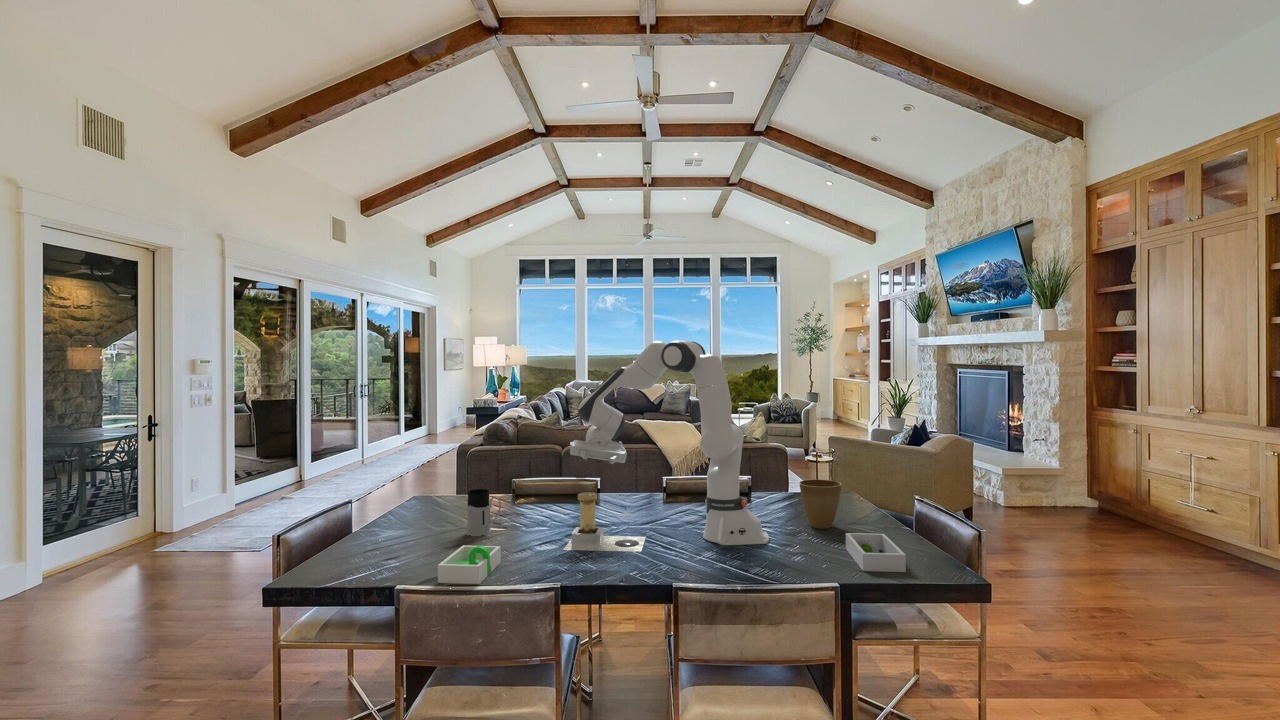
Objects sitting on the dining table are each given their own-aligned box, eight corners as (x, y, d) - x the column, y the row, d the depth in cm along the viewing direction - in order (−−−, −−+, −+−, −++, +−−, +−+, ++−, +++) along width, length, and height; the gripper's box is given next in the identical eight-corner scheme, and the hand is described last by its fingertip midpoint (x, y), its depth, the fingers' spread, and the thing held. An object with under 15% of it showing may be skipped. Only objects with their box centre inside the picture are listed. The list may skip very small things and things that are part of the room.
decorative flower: (885, 545, 178) (856, 531, 192) (872, 561, 177) (843, 546, 191) (902, 563, 179) (872, 548, 193) (888, 579, 178) (859, 562, 192)
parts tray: (500, 562, 187) (500, 546, 187) (479, 584, 169) (479, 566, 169) (463, 561, 188) (462, 545, 188) (437, 582, 170) (437, 565, 170)
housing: (645, 541, 208) (645, 525, 208) (641, 556, 192) (641, 538, 192) (573, 539, 210) (573, 523, 210) (563, 554, 194) (563, 537, 194)
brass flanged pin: (599, 539, 204) (598, 492, 204) (595, 545, 198) (595, 496, 198) (580, 539, 205) (579, 492, 205) (576, 545, 199) (576, 496, 199)
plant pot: (846, 524, 226) (845, 481, 226) (835, 534, 214) (835, 488, 214) (806, 518, 234) (806, 477, 234) (794, 528, 222) (793, 484, 222)
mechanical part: (494, 568, 181) (493, 541, 181) (487, 575, 175) (487, 547, 175) (454, 567, 182) (454, 541, 182) (447, 575, 176) (446, 547, 176)
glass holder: (477, 528, 225) (477, 487, 225) (508, 532, 219) (508, 491, 219) (461, 534, 218) (460, 492, 218) (492, 539, 211) (492, 496, 211)
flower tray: (884, 549, 196) (883, 533, 196) (905, 572, 175) (905, 554, 175) (845, 548, 197) (845, 533, 197) (862, 571, 177) (862, 553, 177)
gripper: (571, 433, 223) (570, 446, 209) (626, 442, 225) (628, 455, 212) (568, 449, 224) (567, 463, 210) (622, 458, 226) (625, 472, 213)
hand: (598, 459), depth 211 cm, fingers open, 8 cm apart
